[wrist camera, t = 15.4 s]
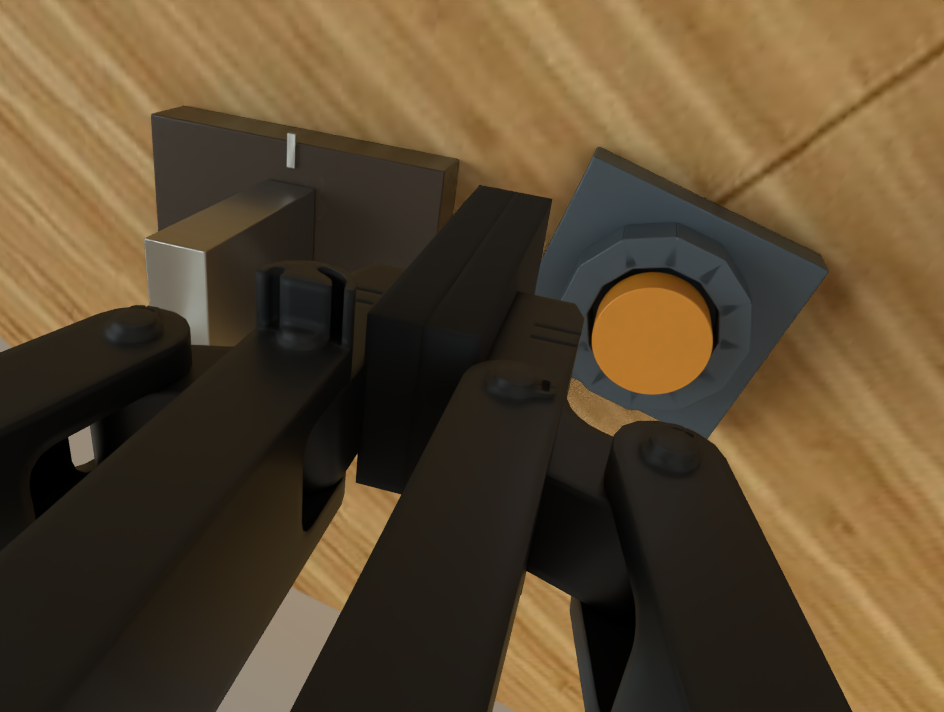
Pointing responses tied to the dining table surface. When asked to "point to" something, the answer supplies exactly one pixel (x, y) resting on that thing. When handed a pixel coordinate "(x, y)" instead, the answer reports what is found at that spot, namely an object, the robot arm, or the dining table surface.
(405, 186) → the plate
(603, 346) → the bell button
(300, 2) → the dining table surface
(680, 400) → the grey button base
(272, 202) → the silver rectangular block
